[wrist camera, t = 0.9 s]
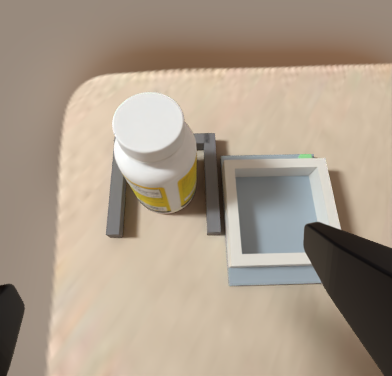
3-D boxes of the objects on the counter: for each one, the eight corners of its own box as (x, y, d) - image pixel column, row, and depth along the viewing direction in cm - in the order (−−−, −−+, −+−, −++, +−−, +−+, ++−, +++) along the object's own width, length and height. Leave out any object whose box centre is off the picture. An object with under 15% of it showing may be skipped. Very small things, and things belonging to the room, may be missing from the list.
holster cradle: (219, 234, 22) (220, 231, 21) (110, 237, 22) (105, 234, 21) (213, 140, 26) (214, 133, 24) (118, 141, 25) (115, 134, 24)
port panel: (335, 282, 21) (352, 281, 19) (228, 285, 21) (233, 285, 19) (310, 157, 25) (322, 144, 23) (220, 158, 25) (223, 146, 23)
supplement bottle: (184, 150, 25) (180, 71, 16) (205, 203, 23) (213, 147, 14) (128, 168, 24) (89, 96, 15) (144, 224, 23) (112, 179, 14)
